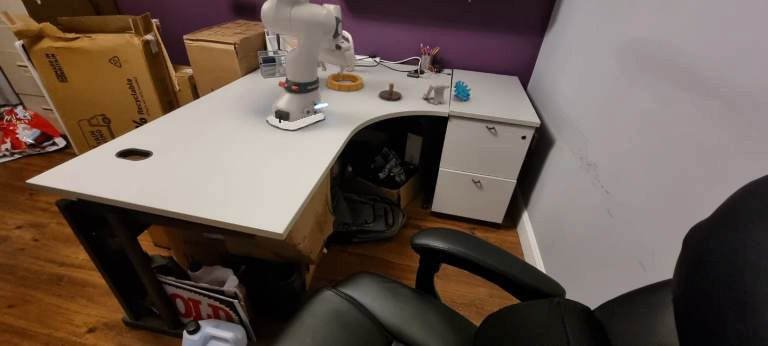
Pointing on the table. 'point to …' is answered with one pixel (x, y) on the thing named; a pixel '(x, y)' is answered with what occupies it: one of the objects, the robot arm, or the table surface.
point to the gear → (462, 91)
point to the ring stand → (390, 94)
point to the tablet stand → (436, 92)
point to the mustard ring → (344, 86)
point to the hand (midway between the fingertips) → (332, 72)
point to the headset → (350, 50)
